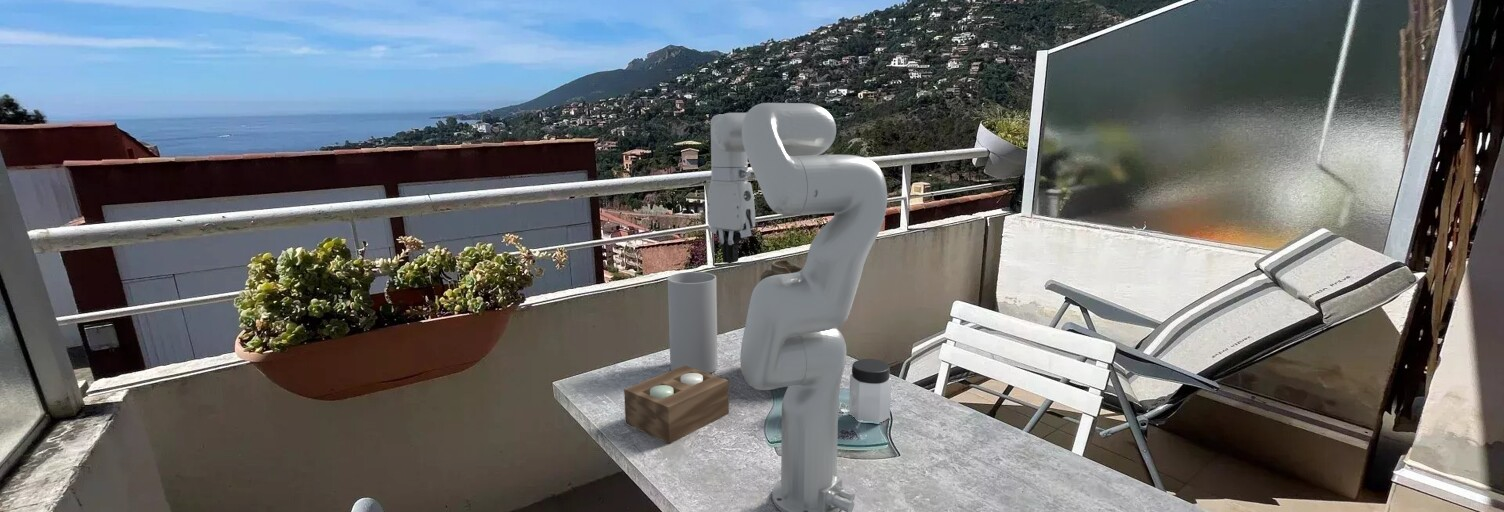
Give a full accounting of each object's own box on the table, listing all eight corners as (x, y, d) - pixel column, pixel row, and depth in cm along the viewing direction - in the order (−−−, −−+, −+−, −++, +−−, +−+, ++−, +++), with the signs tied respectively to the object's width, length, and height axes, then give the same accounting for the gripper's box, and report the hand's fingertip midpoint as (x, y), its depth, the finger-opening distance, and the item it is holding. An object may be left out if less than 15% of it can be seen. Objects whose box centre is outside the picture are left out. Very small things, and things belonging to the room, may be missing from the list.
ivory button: (707, 393, 144) (707, 376, 143) (692, 400, 140) (691, 383, 139) (692, 387, 147) (691, 371, 146) (676, 394, 143) (675, 377, 142)
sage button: (678, 406, 137) (678, 389, 136) (661, 414, 133) (660, 396, 132) (663, 400, 140) (662, 383, 139) (645, 408, 136) (644, 390, 136)
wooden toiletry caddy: (728, 413, 143) (728, 380, 142) (669, 443, 130) (668, 407, 128) (685, 396, 152) (684, 365, 151) (625, 423, 139) (624, 389, 137)
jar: (843, 410, 145) (845, 360, 142) (875, 405, 147) (877, 356, 145) (861, 427, 136) (863, 375, 134) (895, 422, 139) (897, 370, 136)
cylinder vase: (721, 375, 165) (719, 282, 160) (672, 379, 162) (669, 284, 157) (713, 358, 177) (712, 271, 172) (668, 362, 174) (665, 273, 169)
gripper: (769, 176, 130) (768, 263, 134) (715, 172, 139) (716, 254, 143) (745, 178, 124) (745, 270, 128) (691, 174, 134) (693, 260, 137)
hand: (730, 261), depth 136 cm, fingers closed
